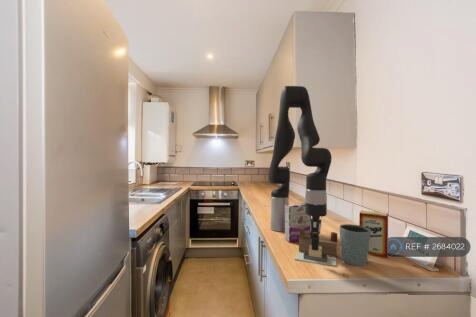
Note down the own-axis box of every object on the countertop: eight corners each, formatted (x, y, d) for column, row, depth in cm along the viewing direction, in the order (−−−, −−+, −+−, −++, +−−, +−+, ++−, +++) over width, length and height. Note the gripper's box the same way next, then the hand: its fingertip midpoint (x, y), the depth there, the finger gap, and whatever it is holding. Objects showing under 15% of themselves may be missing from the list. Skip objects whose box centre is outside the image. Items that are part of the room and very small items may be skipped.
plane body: (300, 246, 99) (300, 225, 99) (336, 251, 94) (336, 228, 94) (298, 251, 93) (299, 228, 93) (337, 257, 88) (337, 233, 88)
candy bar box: (305, 237, 111) (305, 202, 111) (311, 241, 106) (311, 204, 106) (284, 239, 108) (284, 203, 108) (289, 242, 103) (289, 205, 103)
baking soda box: (359, 252, 94) (359, 211, 94) (361, 247, 99) (361, 209, 99) (387, 257, 88) (387, 215, 89) (388, 252, 94) (388, 212, 94)
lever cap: (304, 254, 89) (304, 243, 90) (327, 257, 87) (327, 246, 87) (303, 258, 85) (303, 247, 85) (326, 262, 82) (327, 250, 83)
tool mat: (296, 253, 92) (296, 251, 92) (335, 258, 87) (335, 257, 87) (294, 259, 85) (294, 258, 85) (336, 266, 80) (336, 265, 80)
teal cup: (343, 253, 92) (343, 222, 92) (372, 260, 86) (373, 227, 86) (335, 261, 84) (335, 228, 84) (367, 270, 78) (367, 233, 78)
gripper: (306, 198, 94) (306, 238, 94) (303, 204, 81) (303, 251, 81) (326, 199, 92) (326, 241, 91) (326, 206, 78) (326, 254, 78)
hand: (315, 246), depth 86 cm, fingers open, 8 cm apart
